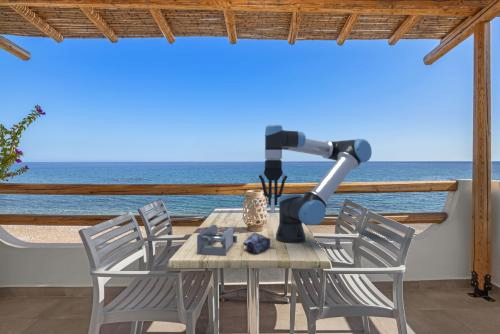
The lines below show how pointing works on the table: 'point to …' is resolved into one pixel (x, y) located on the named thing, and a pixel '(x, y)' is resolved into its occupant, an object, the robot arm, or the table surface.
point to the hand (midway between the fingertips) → (272, 212)
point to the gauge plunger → (224, 238)
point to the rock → (257, 243)
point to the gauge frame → (210, 242)
